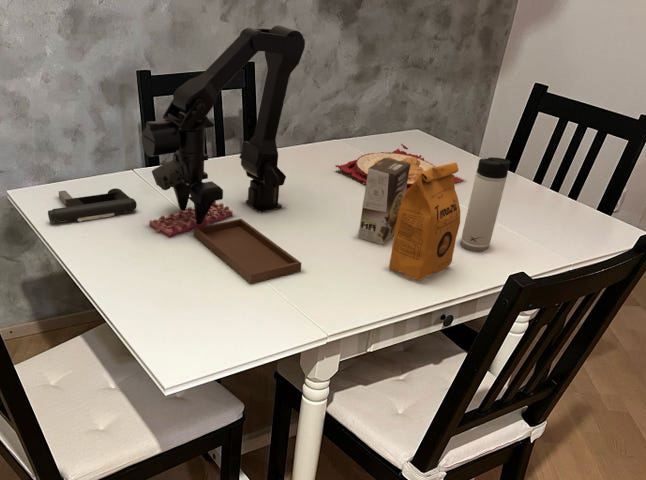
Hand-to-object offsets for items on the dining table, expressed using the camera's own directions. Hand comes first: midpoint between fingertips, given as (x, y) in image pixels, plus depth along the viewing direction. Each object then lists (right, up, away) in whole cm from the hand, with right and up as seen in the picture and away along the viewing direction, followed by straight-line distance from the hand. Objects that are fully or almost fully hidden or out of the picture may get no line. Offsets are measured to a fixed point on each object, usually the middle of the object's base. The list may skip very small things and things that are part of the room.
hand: (190, 217), depth 167 cm
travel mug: (+63, -7, -2) cm, 64 cm away
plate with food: (+53, +17, +32) cm, 64 cm away
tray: (+12, -10, -11) cm, 19 cm away
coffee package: (+49, -13, -13) cm, 52 cm away
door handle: (-24, +3, +4) cm, 25 cm away
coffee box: (+42, -4, 0) cm, 42 cm away
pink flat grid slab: (0, -1, +1) cm, 1 cm away
